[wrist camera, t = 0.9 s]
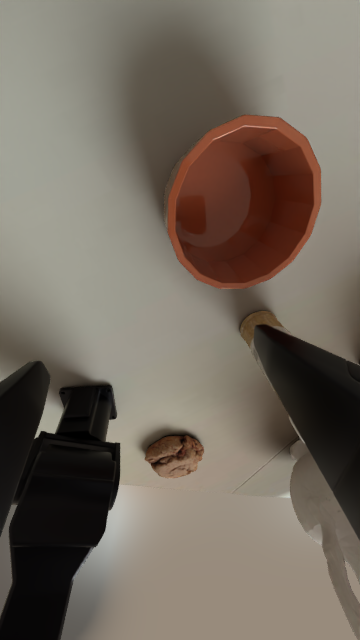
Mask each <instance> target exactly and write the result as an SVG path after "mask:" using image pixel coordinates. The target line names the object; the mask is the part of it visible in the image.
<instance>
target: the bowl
mask: <svg viewBox="0 0 360 640" xmlns="http://www.w3.org/2000/svg"><path fill="white" fill-rule="evenodd" d="M320 206H321V169H320V166H319V164H318V162H317V159H316V157H315V155H314V153H313V150H312V148H311V146H310V144H309V141H308V139H307V138H306V137H305V136H304V135H303V134H301V133H300V132H299V131H297V130H296V129H295V128H293V127H292V126H291V125H289V124H288V123H287V122H285V121H284V120H283V119H281V118H279V117H270V116H258V115H246V114H245V115H242V116H240V117H237V118H235V119H233V120H231V121H229V122H226V123H224V124H222V125H220V126H218V127H215V128H213V129H211V130H209V131H208V132H207V133H206V134H205V135H203V136H202V137H201V138H200V139H199V140H198V141H197V142H195V143H194V144H193V145H192V146H191V147H190V149H189V150H188V151H187V152H186V153H185V154H184V155H183V156H182V158H181V159H180V160H179V161H178V162H177V163H176V164H175V166H174V167H173V170H172V173H171V175H170V177H169V180H168V183H167V186H166V189H165V192H164V222H165V225H166V229H167V232H168V235H169V237H170V240H171V243H172V245H173V248H174V251H175V253H176V256H177V258H178V260H179V262H180V263H181V264H182V265H183V266H184V267H185V268H186V269H187V270H188V271H189V272H190V273H191V274H192V275H193V276H194V277H195V278H196V279H197V280H199V281H201V282H204V283H206V284H209V285H211V286H214V287H216V288H219V289H245V288H248V287H251V286H253V285H256V284H259V283H261V282H264V281H267V280H269V279H271V278H272V277H273V276H275V275H276V274H277V273H278V272H280V271H281V270H282V269H284V268H285V267H286V266H287V265H289V264H290V263H291V262H292V261H293V260H294V259H295V257H296V256H297V254H298V253H299V252H300V250H301V249H302V247H303V246H304V244H305V243H306V242H307V240H308V239H309V237H310V235H311V233H312V230H313V227H314V224H315V221H316V218H317V215H318V212H319V209H320Z"/></svg>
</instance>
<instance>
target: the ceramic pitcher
mask: <svg viewBox="0 0 360 640" xmlns="http://www.w3.org/2000/svg"><path fill="white" fill-rule="evenodd" d="M290 455H291V457H292V459H294V460H297V462H296V464H295V465H294V467H293V472H292V475H291V480H290V495H291V499H292V504H293V508H294V510H295V513H296V515H297V518H298V520H299V522H300V523H301V525H302V527H303V528H304V530H305V532H306V533H307V534H308V535H309V536H310V537H311V538H312V539H313V540H314V541H316V542H317V543H318V544H320V545H322V548H323V551H324V554H325V557H326V559H327V564H328V571H329V575H330V578H331V581H332V584H333V586H334V589H335V592H336V594H337V596H338V598H339V601H340V603H341V605H342V608H343V610H344V612H345V614H346V617H347V619H348V621H349V624H350V626H351V628H352V630H353V632H354V634H355V636H356V637H357V639H358V640H360V604H359V602H358V600H357V599H356V597H355V595H354V593H353V591H352V589H351V586H350V583H349V580H348V578H347V572H346V567H345V561H346V562H347V563H348V564H349V566H350V567H351V568H352V570H353V571H354V573H355V574H356V576H357V579H358V581H359V583H360V541H359V539H358V537H357V535H356V534H355V532H354V530H353V528H352V526H351V525H350V523H349V521H348V519H347V518H346V516H345V514H344V512H343V510H342V509H341V507H340V505H339V503H338V502H337V500H336V498H335V496H334V494H333V491H331V489H330V487H329V485H328V484H327V482H326V480H325V478H324V476H323V475H322V473H321V471H320V469H319V468H318V466H317V464H316V462H315V460H314V459H313V457H312V455H311V453H310V452H309V450H308V448H307V446H306V445H305V443H304V442H303V441H302V440H301V439H300V438H299V440H298V441H297V442H296V443H295V444H293V445H292V446H291V447H290ZM344 560H345V561H344Z"/></svg>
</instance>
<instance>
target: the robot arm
mask: <svg viewBox="0 0 360 640" xmlns="http://www.w3.org/2000/svg"><path fill="white" fill-rule="evenodd" d="M253 342H254V346H255V349H256V351H257V353H258V356H259V358H260V361H261V363H262V366H263V368H264V370H265V373H266V375H267V377H268V379H269V381H270V382H271V384H272V386H273V388H274V389H275V391H276V393H277V395H278V397H279V398H280V400H281V402H282V404H283V405H284V407H285V409H286V411H287V413H288V414H289V416H290V418H291V420H292V421H293V423H294V425H295V427H296V429H297V430H298V432H299V434H300V436H301V437H302V439H303V441H304V443H305V445H306V446H307V448H308V450H309V452H310V453H311V455H312V457H313V459H314V460H315V462H316V464H317V466H318V468H319V469H320V471H321V473H322V475H323V476H324V478H325V480H326V482H327V484H328V485H329V487H330V489H331V491H333V494H334V496H335V498H336V500H337V502H338V503H339V505H340V507H341V509H342V510H343V512H344V514H345V516H346V518H347V519H348V521H349V523H350V525H351V526H352V528H353V530H354V532H355V534H356V535H357V537H358V539H359V541H360V366H359V365H357V364H355V363H352V362H350V361H346V360H345V359H343V358H341V357H339V356H337V355H334V354H332V353H330V352H328V351H325V350H323V349H321V348H319V347H316V346H314V345H312V344H310V343H307V342H305V341H303V340H301V339H298V338H296V337H294V336H292V335H289V334H287V333H285V332H283V331H280V330H278V329H276V328H274V327H271V326H269V325H267V324H259V325H256V326H255V327H254V339H253ZM49 384H50V375H49V373H48V371H47V369H46V368H45V366H44V364H43V363H42V362H41V361H33V362H29V363H27V364H26V365H24V366H23V367H22V368H20V369H19V370H17V371H16V372H14V373H13V374H11V375H10V376H9V377H7V378H6V379H4V380H3V381H1V382H0V536H1V533H2V530H3V527H4V525H5V522H6V518H7V516H8V513H9V510H10V507H11V505H18V506H17V508H16V510H15V513H14V515H13V518H12V520H11V523H10V526H9V545H10V559H11V572H12V584H11V587H10V590H9V592H8V595H7V598H6V601H5V604H4V607H3V610H2V613H1V616H0V640H60V639H61V635H62V629H63V625H64V620H65V616H66V611H67V607H68V602H69V597H70V593H71V589H72V585H73V581H74V579H75V577H76V575H77V574H78V572H79V571H80V569H81V567H82V566H83V564H84V563H85V561H86V559H87V558H88V556H89V555H90V553H91V551H92V549H93V548H94V547H96V546H97V545H98V543H99V541H100V539H101V538H102V536H103V534H104V532H105V528H106V521H107V516H108V511H109V510H111V509H112V507H113V505H114V502H115V499H116V496H117V492H118V486H119V480H120V443H116V442H115V443H110V442H105V441H106V435H107V429H108V424H109V420H112V419H116V418H117V412H116V406H115V400H114V394H113V388H112V386H109V385H107V386H88V387H69V388H61V389H60V391H59V394H60V397H61V400H62V403H63V406H64V411H63V414H62V417H61V419H60V422H59V424H58V427H57V430H56V432H55V434H52V433H46V432H45V431H41V432H40V435H39V437H37V438H35V435H36V432H37V429H38V426H39V423H40V420H41V417H42V414H43V410H44V406H45V401H46V397H47V393H48V388H49ZM34 438H35V439H34Z"/></svg>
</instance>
